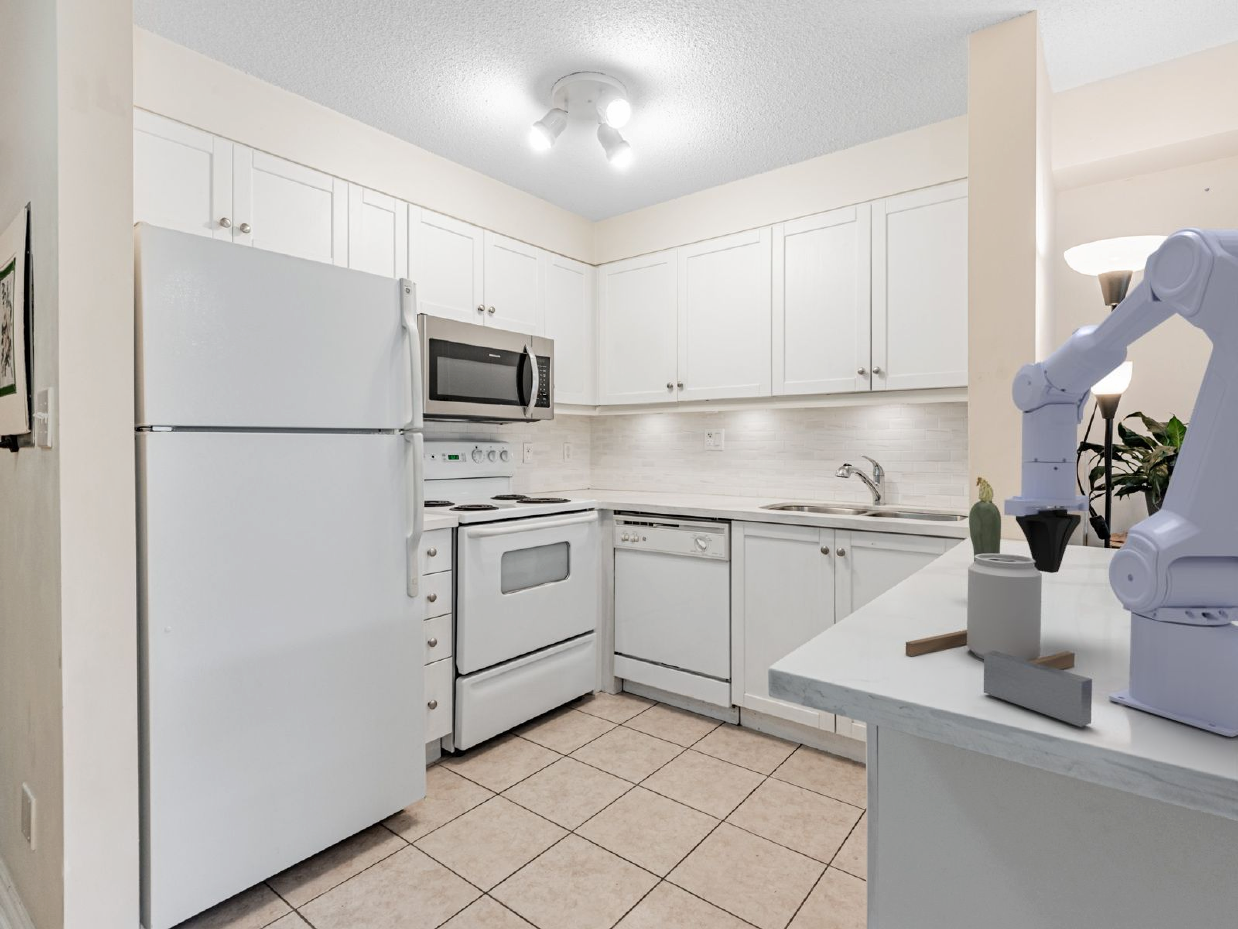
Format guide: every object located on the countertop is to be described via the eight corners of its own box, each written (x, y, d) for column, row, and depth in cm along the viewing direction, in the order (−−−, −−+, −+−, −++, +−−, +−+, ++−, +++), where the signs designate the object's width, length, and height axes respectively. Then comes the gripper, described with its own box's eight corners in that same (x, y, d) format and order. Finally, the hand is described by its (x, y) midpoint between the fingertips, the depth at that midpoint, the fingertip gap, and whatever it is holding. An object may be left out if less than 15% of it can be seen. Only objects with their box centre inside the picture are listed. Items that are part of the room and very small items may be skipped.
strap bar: (1091, 723, 58) (1092, 679, 58) (1080, 727, 58) (1081, 682, 58) (993, 689, 66) (994, 650, 66) (983, 692, 66) (984, 653, 66)
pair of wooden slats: (1074, 666, 74) (1074, 653, 74) (1000, 686, 68) (1000, 672, 68) (977, 639, 85) (977, 627, 85) (905, 654, 78) (905, 642, 78)
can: (1027, 650, 80) (1029, 552, 80) (1050, 670, 73) (1052, 563, 73) (960, 645, 82) (961, 549, 82) (975, 664, 75) (977, 560, 75)
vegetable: (1005, 608, 100) (1007, 477, 100) (976, 608, 101) (979, 477, 100) (989, 601, 105) (991, 476, 104) (962, 600, 105) (964, 476, 104)
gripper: (1049, 460, 88) (1047, 561, 88) (980, 462, 81) (979, 570, 82) (1108, 461, 82) (1105, 570, 82) (1039, 463, 75) (1037, 581, 76)
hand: (1046, 571), depth 82 cm, fingers closed
